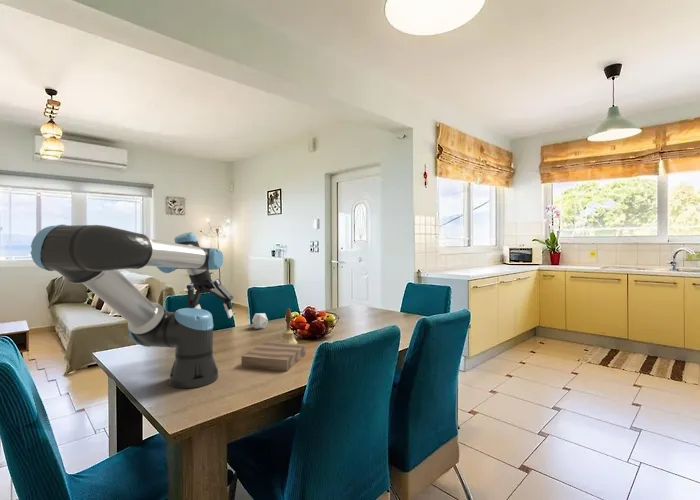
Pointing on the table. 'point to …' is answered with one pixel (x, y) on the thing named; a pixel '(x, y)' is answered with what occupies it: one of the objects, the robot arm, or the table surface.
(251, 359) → the walnut plinth
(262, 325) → the die
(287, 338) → the hand bell
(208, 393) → the table surface
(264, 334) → the table surface
